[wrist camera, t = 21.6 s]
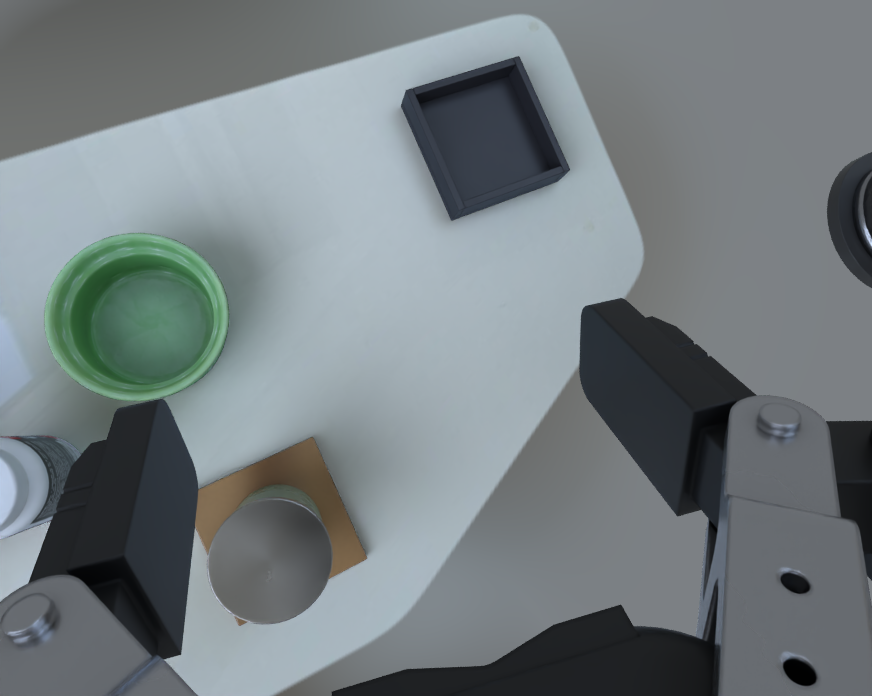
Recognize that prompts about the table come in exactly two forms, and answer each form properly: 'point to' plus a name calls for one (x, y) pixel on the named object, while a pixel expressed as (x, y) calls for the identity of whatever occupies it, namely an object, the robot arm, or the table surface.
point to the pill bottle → (32, 480)
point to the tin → (270, 556)
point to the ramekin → (136, 317)
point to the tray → (484, 136)
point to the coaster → (285, 468)
